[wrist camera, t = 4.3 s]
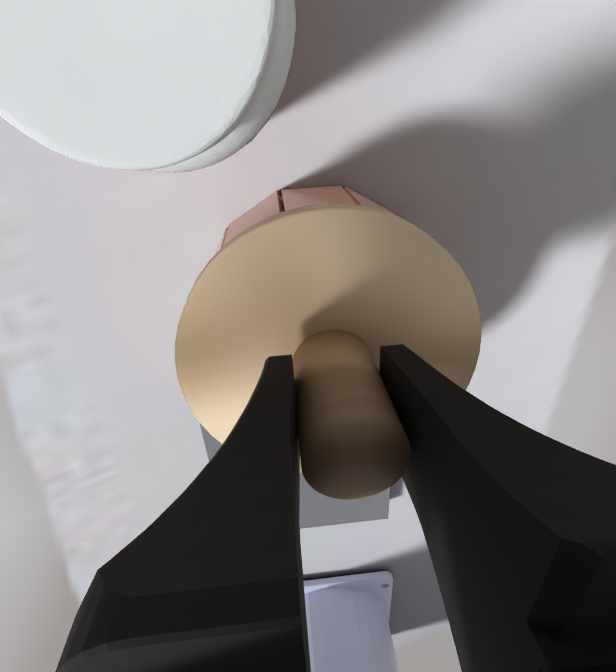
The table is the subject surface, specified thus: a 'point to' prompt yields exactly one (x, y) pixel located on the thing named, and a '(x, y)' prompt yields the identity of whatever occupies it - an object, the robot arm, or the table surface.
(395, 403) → the robot arm
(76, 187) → the table surface
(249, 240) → the lid
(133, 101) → the pill bottle
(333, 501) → the coaster
